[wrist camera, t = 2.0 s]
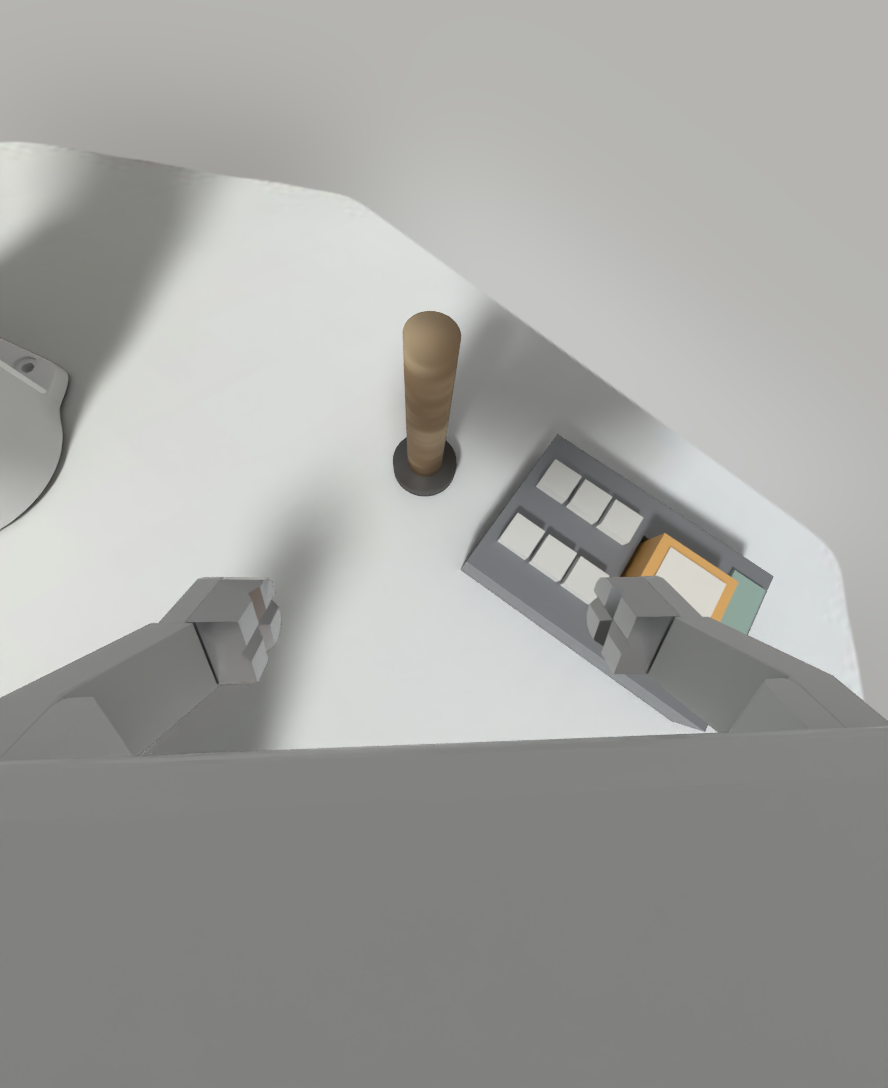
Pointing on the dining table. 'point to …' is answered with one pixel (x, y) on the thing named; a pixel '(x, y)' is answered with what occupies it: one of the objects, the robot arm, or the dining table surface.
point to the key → (684, 574)
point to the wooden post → (427, 403)
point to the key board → (594, 556)
